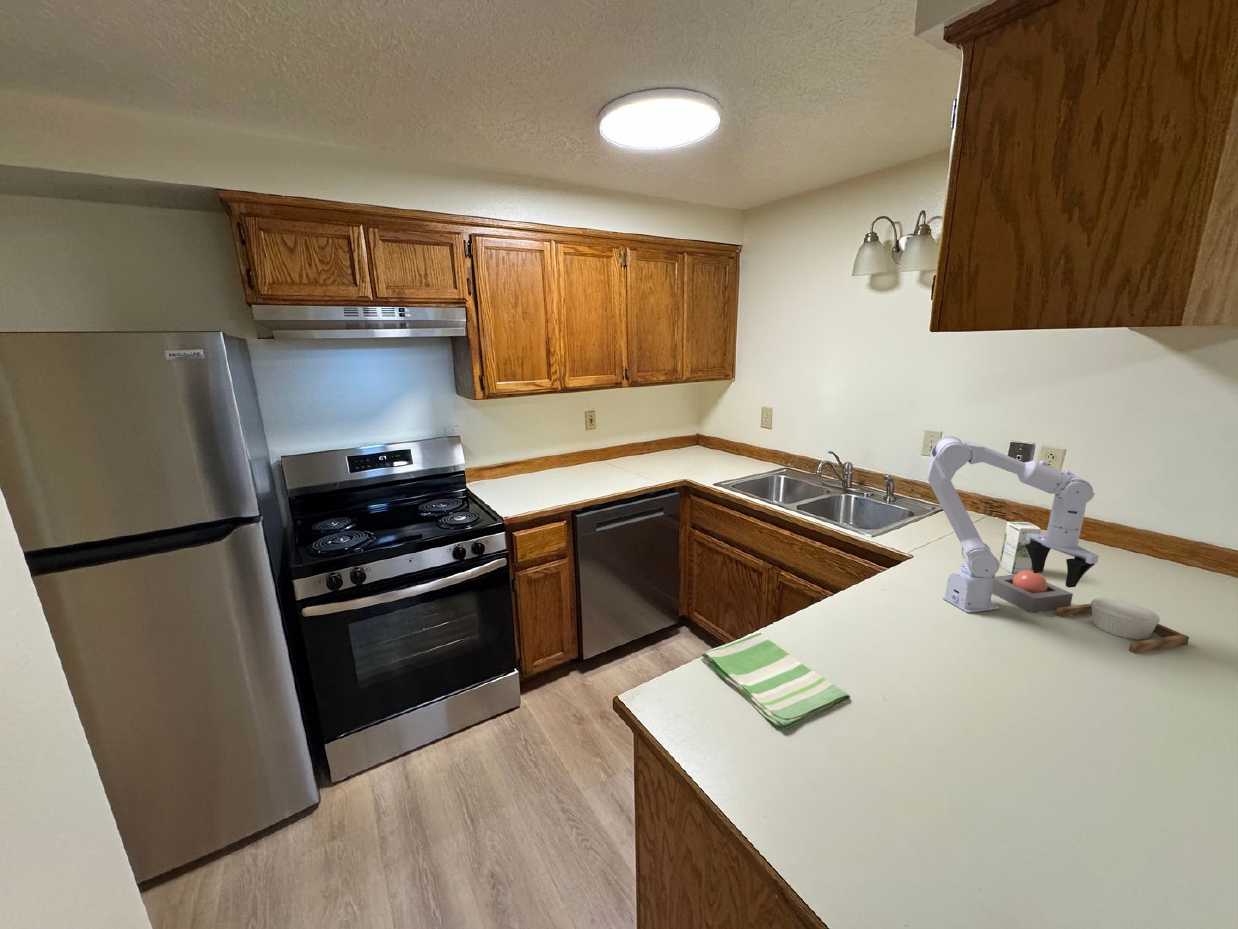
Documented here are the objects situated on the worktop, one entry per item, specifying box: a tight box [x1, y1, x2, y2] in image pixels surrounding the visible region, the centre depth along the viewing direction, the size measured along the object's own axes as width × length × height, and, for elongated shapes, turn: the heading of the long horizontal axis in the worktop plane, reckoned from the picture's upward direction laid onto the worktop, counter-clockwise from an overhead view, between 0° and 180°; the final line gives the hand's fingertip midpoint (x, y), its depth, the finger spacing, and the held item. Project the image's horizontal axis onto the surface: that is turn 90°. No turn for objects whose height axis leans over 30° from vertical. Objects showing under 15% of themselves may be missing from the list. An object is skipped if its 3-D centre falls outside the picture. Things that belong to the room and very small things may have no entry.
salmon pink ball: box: [1013, 570, 1048, 593], centre depth 127 cm, size 7×7×7 cm
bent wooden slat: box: [1055, 603, 1190, 654], centre depth 113 cm, size 15×16×2 cm
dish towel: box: [700, 631, 851, 730], centre depth 97 cm, size 18×23×3 cm
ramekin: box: [1090, 597, 1161, 641], centre depth 113 cm, size 11×11×5 cm
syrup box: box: [998, 521, 1042, 575], centre depth 143 cm, size 6×6×14 cm
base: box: [992, 573, 1074, 614], centre depth 127 cm, size 12×12×4 cm
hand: (1053, 579), depth 117 cm, fingers open, 7 cm apart
